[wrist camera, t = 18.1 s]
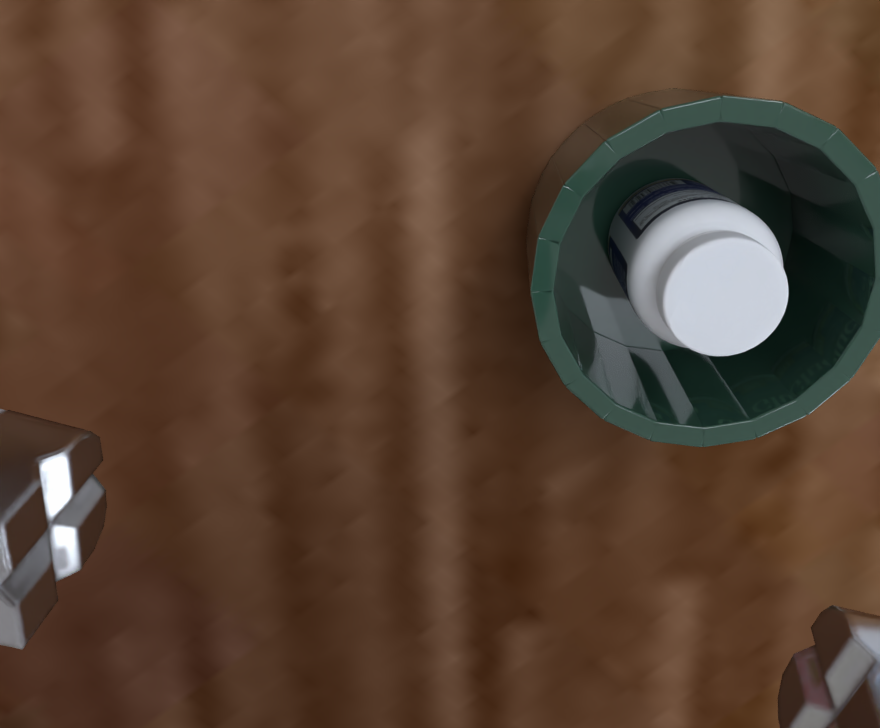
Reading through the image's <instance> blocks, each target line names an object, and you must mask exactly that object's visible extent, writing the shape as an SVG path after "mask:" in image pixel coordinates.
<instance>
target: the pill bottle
mask: <svg viewBox="0 0 880 728" xmlns="http://www.w3.org/2000/svg"><path fill="white" fill-rule="evenodd" d="M608 255H609V260H610V263H611V267H612V269H613V272H614V274H615V276H616V278H617V279H618V281H619V283H620V285H621V287H622V289H623V291H624V292H625V294H626V296H627V298H628V300H629V302H630V304H631V306H632V308H633V310H634V312H635V313H636V314H637V316H638V317H639V319H640V320H641V321H642V322H643V324H644V325H645V326H646V327H647V328H648V329H649V330H650V331H651V332H652V333H654V334H655V335H656V336H658V337H659V338H661V339H663V340H665V341H667V342H669V343H671V344H674V345H676V346H680V347H684V348H689V349H691V350H693V351H695V352H698V353H701V354H705V355H710V356H730V355H735V354H739V353H742V352H745V351H747V350H749V349H751V348H754V347H755V346H757V345H758V344H760V343H761V342H763V341H764V340H765V339H766V338H768V337H769V335H770V334H771V333H772V332H773V331H774V330H775V329H776V327H777V326H778V324H779V323H780V321H781V319H782V317H783V315H784V313H785V310H786V306H787V302H788V281H787V276H786V274H785V271H784V268H783V258H782V253H781V250H780V247H779V244H778V242H777V240H776V238H775V236H774V234H773V233H772V231H771V230H770V229H769V227H768V226H767V225H766V224H765V223H764V222H763V221H762V220H761V219H760V218H759V217H758V216H756V215H755V214H753V213H752V212H750V211H749V210H747V209H746V208H744V207H742V206H741V205H739V204H737V203H736V202H734V201H732V200H730V199H729V198H727V197H725V196H723V195H721V194H720V193H718V192H716V191H715V190H713V189H711V188H710V187H708V186H706V185H704V184H701V183H699V182H696V181H693V180H689V179H682V178H669V179H663V180H659V181H655V182H652V183H650V184H647V185H645V186H643V187H642V188H640V189H638V190H637V191H635V192H634V193H633V194H632V195H630V196H629V197H628V198H627V199H626V200H625V201H624V203H623V204H622V205H621V207H620V208H619V209H618V211H617V213H616V215H615V216H614V218H613V221H612V223H611V226H610V230H609V236H608Z"/></svg>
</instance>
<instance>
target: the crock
mask: <svg viewBox="0 0 880 728" xmlns="http://www.w3.org/2000/svg"><path fill="white" fill-rule="evenodd" d="M669 178H682V179H689V180H693V181H696V182H699V183H701V184H704V185H706V186H708V187H710V188H711V189H713V190H715V191H716V192H718V193H720V194H721V195H723V196H725V197H727V198H729V199H730V200H732V201H734V202H736V203H737V204H739V205H741V206H742V207H744V208H746V209H747V210H749V211H750V212H752V213H753V214H755V215H756V216H758V217H759V218H760V219H761V220H762V221H763V222H764V223H765V224H766V225H767V226H768V227H769V229H770V230H771V231H772V233H773V234H774V236H775V238H776V240H777V242H778V244H779V247H780V250H781V253H782V258H783V268H784V271H785V274H786V276H787V281H788V302H787V306H786V310H785V313H784V315H783V317H782V319H781V321H780V323H779V324H778V326H777V327H776V329H775V330H774V331H773V332H772V333H771V334H770V335H769V337H768V338H766V339H765V340H764V341H763V342H761V343H760V344H758V345H757V346H755V347H754V348H751V349H749V350H747V351H745V352H742V353H739V354H735V355H730V356H710V355H705V354H701V353H698V352H695V351H693V350H691V349H689V348H684V347H680V346H676V345H674V344H671V343H669V342H667V341H665V340H663V339H661V338H659V337H658V336H656V335H655V334H654V333H652V332H651V331H650V330H649V329H648V328H647V327H646V326H645V325H644V324H643V322H642V321H641V320H640V319H639V317H638V316H637V314H636V313H635V312H634V310H633V308H632V306H631V304H630V302H629V300H628V298H627V296H626V294H625V292H624V291H623V289H622V287H621V285H620V283H619V281H618V279H617V278H616V276H615V274H614V272H613V269H612V267H611V263H610V260H609V255H608V236H609V230H610V226H611V223H612V221H613V218H614V216H615V215H616V213H617V211H618V209H619V208H620V207H621V205H622V204H623V203H624V201H625V200H626V199H627V198H628V197H629V196H630V195H632V194H633V193H634V192H635V191H637V190H638V189H640V188H642V187H643V186H645V185H647V184H650V183H652V182H655V181H659V180H663V179H669ZM526 248H527V260H528V272H529V283H530V294H531V299H532V305H533V310H534V315H535V321H536V326H537V331H538V336H539V341H540V342H541V346H542V347H543V349H544V351H545V353H546V354H547V356H548V358H549V360H550V361H551V363H552V365H553V367H554V368H555V370H556V372H557V374H558V375H559V377H560V379H561V381H562V382H563V384H564V385H566V388H567V389H568V390H569V391H571V392H572V393H573V394H574V395H575V396H576V397H577V398H578V399H580V400H581V401H582V402H583V403H584V404H585V405H586V406H587V407H589V408H590V409H591V410H592V411H593V412H594V413H595V414H597V415H598V416H599V417H600V418H602V419H604V420H605V421H606V422H609V423H611V424H613V425H616V426H618V427H620V428H622V429H625V430H627V431H629V432H631V433H634V434H636V435H638V436H641V437H643V438H645V439H648V440H649V439H650V441H655V442H663V443H671V444H679V445H687V446H695V447H702V446H703V447H707V446H714V445H720V444H727V443H733V442H739V441H746V440H752V439H756V438H759V437H761V436H763V435H766V434H768V433H770V432H772V431H774V430H777V429H779V428H781V427H783V426H786V425H788V424H790V423H792V422H794V421H797V420H799V419H801V418H803V417H805V416H806V414H807V415H809V414H810V413H811V412H813V411H814V410H815V409H816V408H818V407H819V406H820V405H821V404H822V403H824V402H825V401H826V400H827V399H828V398H830V397H831V396H832V395H833V394H834V393H836V392H837V391H838V390H839V389H840V388H842V387H843V386H844V385H845V384H847V383H848V382H849V381H850V378H853V376H854V375H855V373H856V372H857V371H858V369H859V368H860V366H861V365H862V363H863V362H864V360H865V359H866V357H867V356H868V354H869V353H870V352H871V350H872V349H873V347H874V346H875V344H876V343H877V341H878V340H879V338H880V175H879V172H878V171H877V170H876V167H875V166H874V165H873V164H872V163H871V162H870V161H869V160H868V159H867V157H866V156H865V155H864V154H863V153H862V152H861V151H860V150H859V149H858V148H857V147H856V146H855V145H854V144H853V143H852V142H851V141H850V140H849V139H848V138H847V137H846V135H845V134H844V133H843V132H842V131H841V130H840V129H839V128H836V126H834V125H832V124H830V123H828V122H826V121H824V120H822V119H820V118H818V117H815V116H813V115H811V114H809V113H807V112H805V111H803V110H801V109H799V108H797V107H795V106H792V105H790V104H788V103H786V102H783V101H778V100H770V99H762V98H755V97H747V96H739V95H732V94H724V93H716V92H706V91H697V90H687V89H677V88H672V89H666V90H661V91H655V92H648V93H644V94H640V95H637V96H634V97H630V98H627V99H624V100H622V101H620V102H618V103H616V104H613V105H611V106H609V107H607V108H606V109H604V110H602V111H601V112H599V113H597V114H596V115H594V116H592V117H591V118H590V119H588V120H587V121H586V122H585V123H583V124H582V125H581V126H580V127H578V128H577V129H576V130H575V131H574V132H573V133H572V134H571V135H570V136H569V137H568V138H567V139H566V140H565V141H564V142H563V144H562V145H561V146H560V147H559V149H558V150H557V151H556V153H555V154H554V155H553V156H552V158H551V159H550V161H549V163H548V165H547V167H546V168H545V170H544V172H543V173H542V176H541V178H540V180H539V183H538V185H537V187H536V190H535V193H534V195H533V197H532V200H531V207H530V213H529V220H528V229H527V237H526Z"/></svg>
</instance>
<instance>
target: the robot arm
mask: <svg viewBox="0 0 880 728" xmlns="http://www.w3.org/2000/svg"><path fill="white" fill-rule="evenodd" d="M102 461H103V456H102V449H101V442H100V437H99V436H97V435H96V434H94V433H93V432H91V431H87V430H84V429H80V428H76V427H72V426H68V425H64V424H61V423H57V422H53V421H49V420H45V419H41V418H38V417H34V416H30V415H26V414H22V413H18V412H15V411H11V410H7V411H6V410H3V409H0V645H5V646H9V647H14V648H18V649H23V648H24V647H25V645H26V644H27V643H28V641H29V640H30V638H31V637H32V636H33V634H34V633H35V632H36V630H37V629H38V627H39V626H40V625H41V623H42V622H43V621H44V619H45V618H46V617H47V615H48V614H49V612H50V611H51V610H52V608H53V607H54V606H55V604H56V603H57V601H58V596H57V588H56V582H57V581H59V580H61V579H63V578H65V577H67V576H69V575H71V574H73V573H75V572H77V571H79V570H81V568H82V567H83V565H84V564H85V562H86V561H87V559H88V558H89V557H90V555H91V554H92V552H93V551H94V549H95V546H96V544H97V541H98V539H99V536H100V534H101V532H102V529H103V527H104V522H105V515H106V508H107V503H106V490H105V489H104V487H103V486H102V485H101V484H100V482H99V481H98V480H97V478H96V477H95V476H94V475H93V472H94V471H95V470H96V468H97V467H98V466H99V465H100V463H101V462H102ZM811 630H812V634H813V638H814V641H815V645H813V646H811V647H809V648H807V649H804V650H802V651H800V652H798V653H795V654H794V655H793V657H792V658H791V660H790V662H789V664H788V666H787V667H786V669H785V671H784V673H783V675H782V680H781V685H780V689H779V694H778V720H779V725H780V728H880V616H877V615H873V614H869V613H864V612H860V611H855V610H851V609H847V608H842V607H838V606H833V605H832V606H830V607H829V608H827V609H825V610H824V611H822V612H821V613H820V614H819V616H818V618H817V619H816V621H815V622H814V624H813V625H812V627H811Z"/></svg>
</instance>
